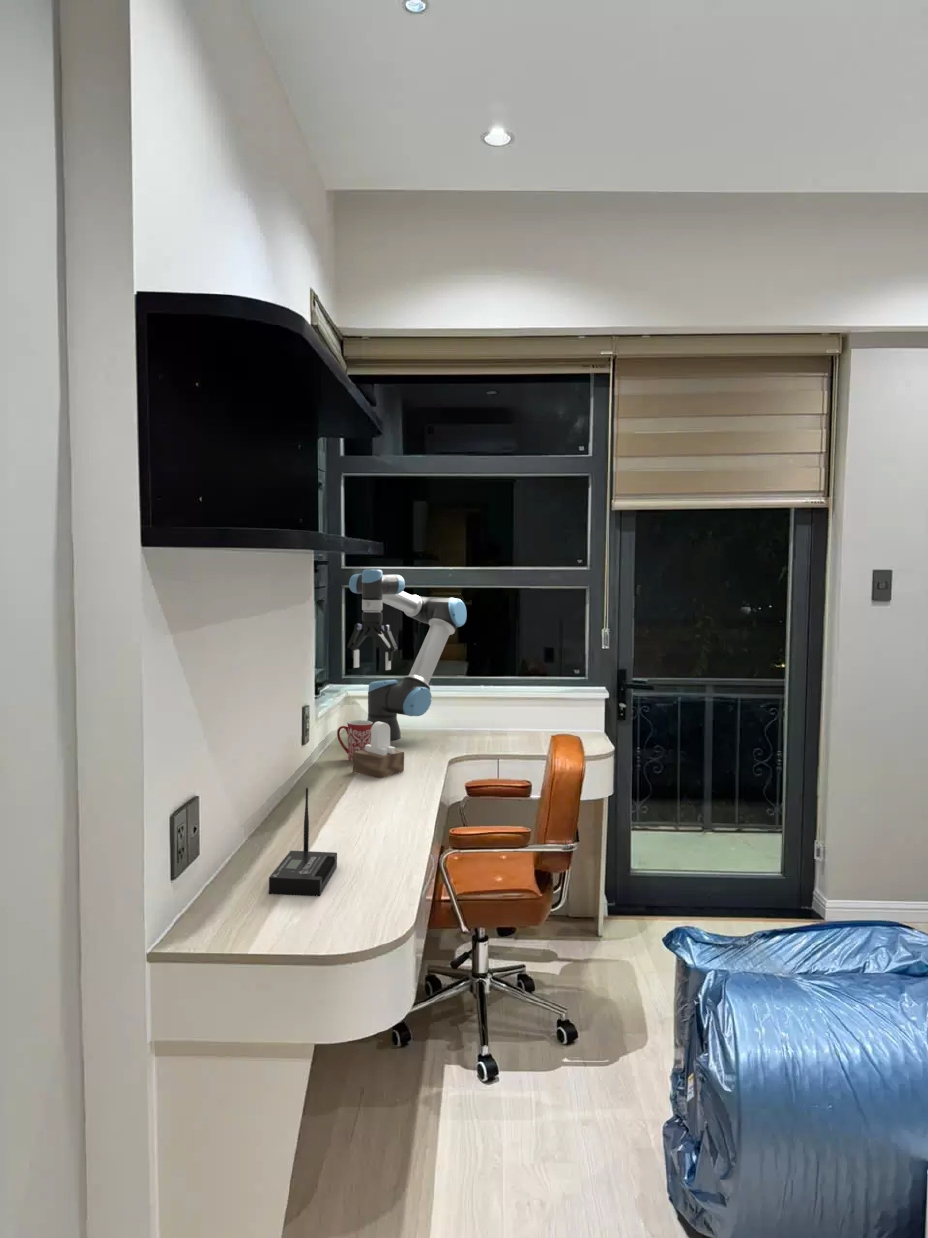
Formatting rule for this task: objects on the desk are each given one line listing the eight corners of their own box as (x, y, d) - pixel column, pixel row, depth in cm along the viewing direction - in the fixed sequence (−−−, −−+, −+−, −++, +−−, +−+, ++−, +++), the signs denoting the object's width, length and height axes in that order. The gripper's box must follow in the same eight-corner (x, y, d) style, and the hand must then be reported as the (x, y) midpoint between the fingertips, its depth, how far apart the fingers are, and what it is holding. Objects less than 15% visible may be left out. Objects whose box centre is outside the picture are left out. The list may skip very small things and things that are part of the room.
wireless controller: (328, 899, 159) (329, 815, 158) (260, 896, 160) (261, 812, 159) (348, 863, 179) (349, 789, 178) (287, 861, 180) (288, 786, 179)
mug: (375, 758, 283) (376, 720, 282) (367, 763, 274) (368, 725, 273) (341, 756, 285) (342, 718, 284) (332, 761, 276) (333, 723, 276)
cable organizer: (383, 755, 257) (383, 725, 257) (364, 750, 264) (365, 720, 264) (395, 753, 261) (396, 723, 260) (377, 748, 268) (377, 719, 267)
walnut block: (377, 766, 271) (377, 746, 271) (403, 772, 264) (404, 751, 264) (352, 773, 262) (352, 752, 261) (379, 779, 255) (379, 757, 254)
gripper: (337, 610, 293) (338, 667, 295) (396, 613, 283) (396, 672, 285) (348, 609, 300) (349, 665, 302) (406, 611, 290) (406, 669, 291)
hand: (372, 668), depth 293 cm, fingers open, 13 cm apart
